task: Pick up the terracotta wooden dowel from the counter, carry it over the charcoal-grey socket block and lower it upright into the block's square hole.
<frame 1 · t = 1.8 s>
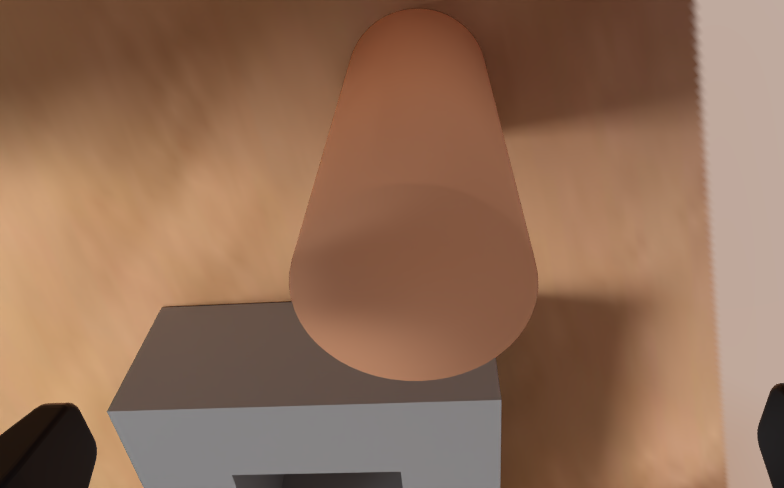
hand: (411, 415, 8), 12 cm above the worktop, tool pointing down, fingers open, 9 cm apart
dowel: (416, 79, 19), on the worktop
socket block: (342, 413, 27), on the worktop
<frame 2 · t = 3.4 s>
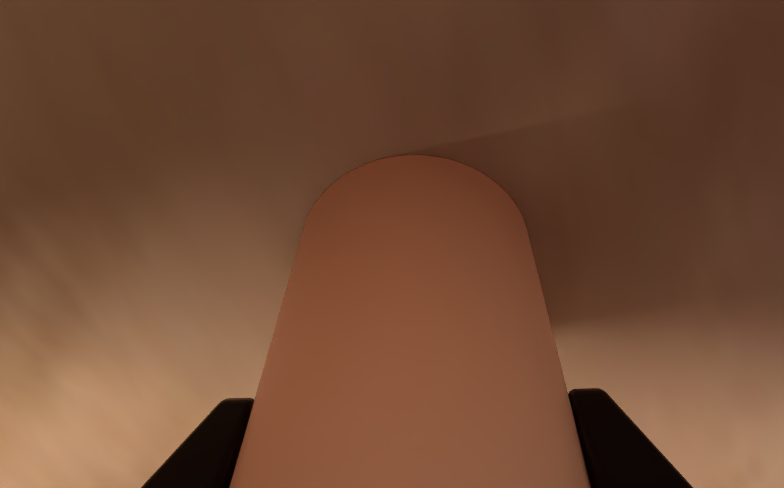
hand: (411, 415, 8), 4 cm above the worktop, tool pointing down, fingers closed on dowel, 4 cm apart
dowel: (414, 257, 11), on the worktop, touching gripper
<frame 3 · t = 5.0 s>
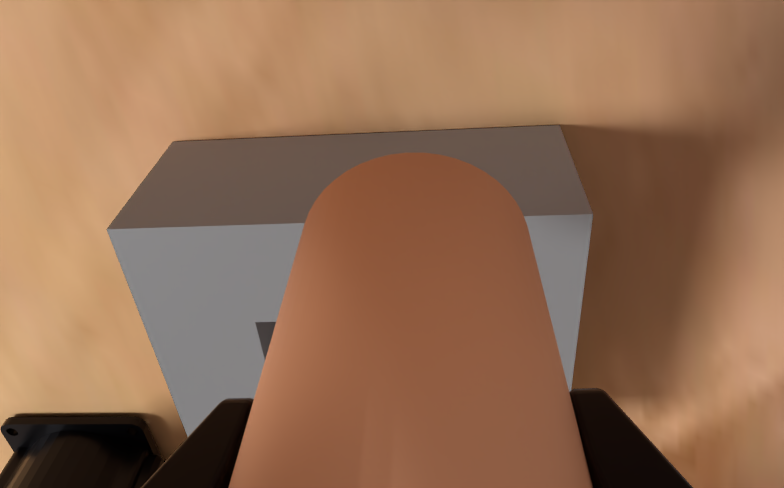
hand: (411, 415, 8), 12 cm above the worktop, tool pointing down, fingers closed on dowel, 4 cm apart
dowel: (414, 255, 11), point 9 cm above the worktop, touching gripper
socket block: (377, 285, 23), on the worktop
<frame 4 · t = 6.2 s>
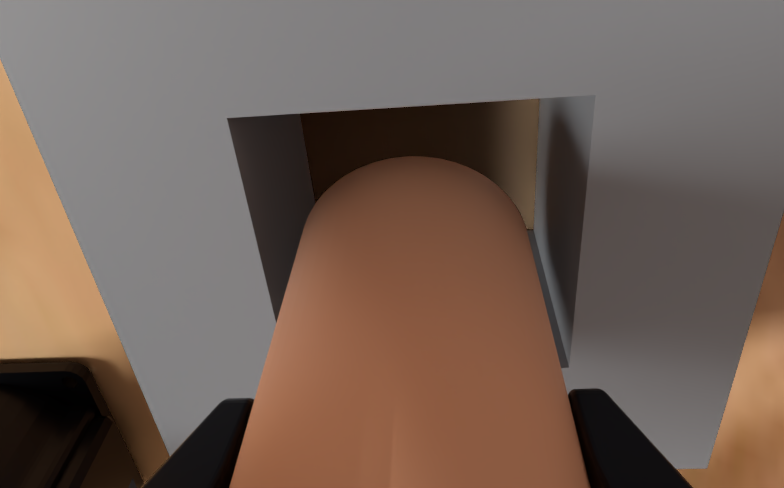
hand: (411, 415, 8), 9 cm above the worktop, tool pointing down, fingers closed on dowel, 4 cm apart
dowel: (414, 259, 11), point 5 cm above the worktop, touching gripper
socket block: (419, 137, 15), on the worktop
when the fingers open (6 cm above the worktop, at t = 7.0 s): dowel drops 3 cm, resting in socket block.
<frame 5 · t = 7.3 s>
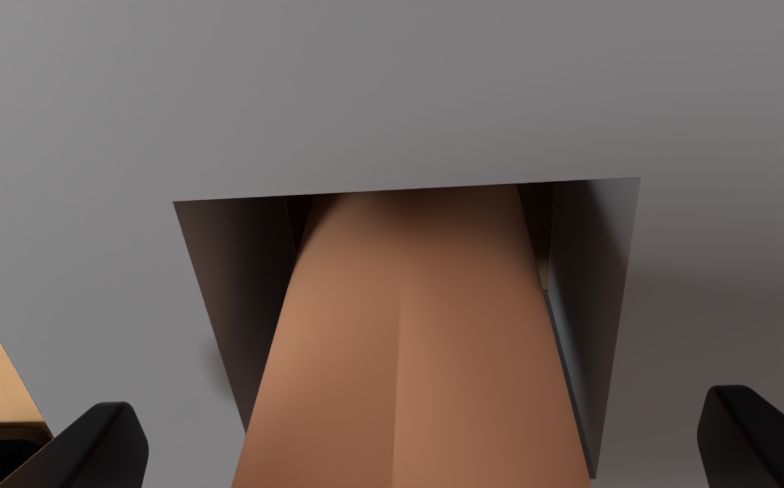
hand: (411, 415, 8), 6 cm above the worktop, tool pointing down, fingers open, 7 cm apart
dowel: (416, 189, 13), resting in socket block
socket block: (417, 189, 13), on the worktop
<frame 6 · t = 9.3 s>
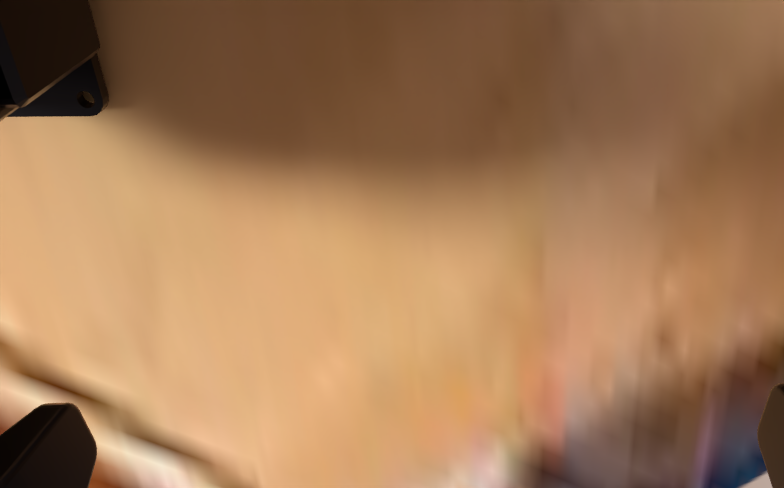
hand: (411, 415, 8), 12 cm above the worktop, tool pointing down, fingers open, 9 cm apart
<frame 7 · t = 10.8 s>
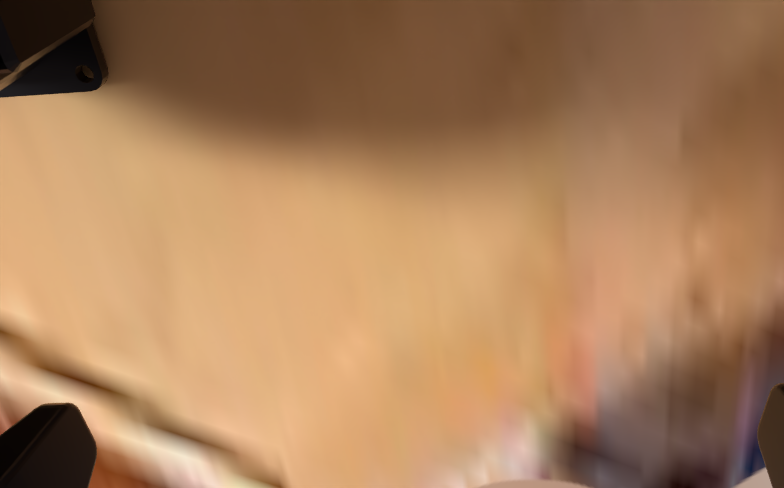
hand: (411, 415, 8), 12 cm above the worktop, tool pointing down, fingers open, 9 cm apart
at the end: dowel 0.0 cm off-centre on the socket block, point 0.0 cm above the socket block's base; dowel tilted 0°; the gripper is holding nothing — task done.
